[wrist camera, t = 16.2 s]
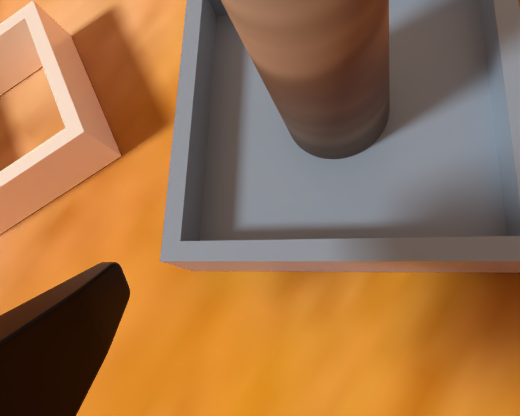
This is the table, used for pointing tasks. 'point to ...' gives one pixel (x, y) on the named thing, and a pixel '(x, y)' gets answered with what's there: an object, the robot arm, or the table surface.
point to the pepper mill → (321, 68)
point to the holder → (70, 107)
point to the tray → (358, 166)
